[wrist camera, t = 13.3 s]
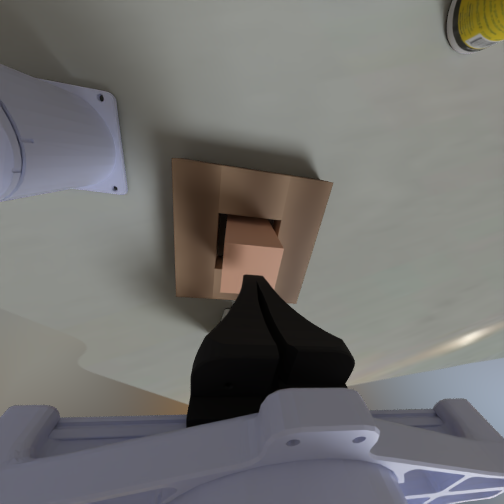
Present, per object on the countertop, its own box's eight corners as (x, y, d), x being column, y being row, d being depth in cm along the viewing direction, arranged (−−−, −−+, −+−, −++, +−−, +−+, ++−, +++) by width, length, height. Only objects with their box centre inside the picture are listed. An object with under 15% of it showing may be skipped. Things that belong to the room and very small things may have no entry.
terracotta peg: (224, 250, 23) (220, 292, 15) (227, 213, 21) (224, 242, 14) (260, 253, 23) (272, 295, 16) (267, 218, 21) (284, 248, 14)
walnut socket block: (182, 281, 24) (176, 296, 21) (181, 158, 18) (171, 158, 15) (289, 288, 26) (296, 303, 23) (320, 179, 20) (333, 182, 17)
